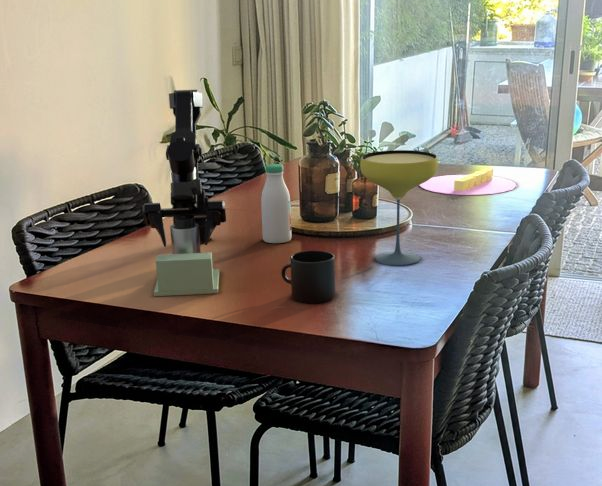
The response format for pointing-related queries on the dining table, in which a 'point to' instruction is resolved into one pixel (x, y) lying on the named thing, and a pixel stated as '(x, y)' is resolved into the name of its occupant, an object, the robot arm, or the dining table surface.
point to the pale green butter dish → (186, 274)
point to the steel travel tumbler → (185, 235)
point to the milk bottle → (275, 207)
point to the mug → (311, 276)
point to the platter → (469, 184)
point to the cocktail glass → (398, 185)
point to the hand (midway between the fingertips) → (185, 245)
